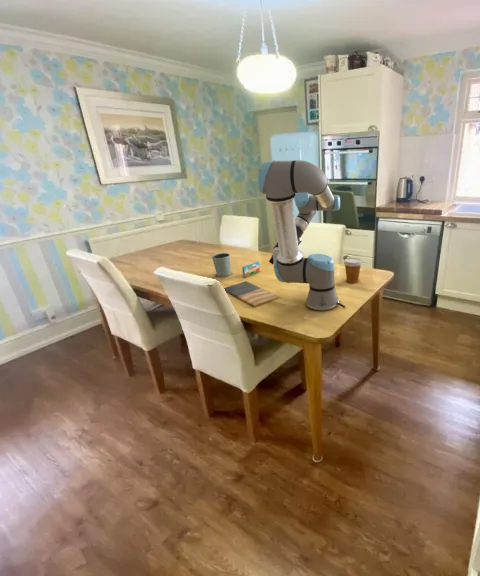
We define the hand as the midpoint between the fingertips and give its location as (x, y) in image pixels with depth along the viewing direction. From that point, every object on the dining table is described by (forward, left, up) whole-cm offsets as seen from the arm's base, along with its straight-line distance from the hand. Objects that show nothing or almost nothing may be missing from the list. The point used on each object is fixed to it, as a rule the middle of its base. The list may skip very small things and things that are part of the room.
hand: (275, 264), depth 163 cm
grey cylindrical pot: (+43, +8, -14) cm, 46 cm away
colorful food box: (+31, -4, -14) cm, 34 cm away
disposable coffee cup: (-21, -36, -14) cm, 44 cm away
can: (0, -3, -4) cm, 6 cm away
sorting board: (+6, +13, -14) cm, 20 cm away
